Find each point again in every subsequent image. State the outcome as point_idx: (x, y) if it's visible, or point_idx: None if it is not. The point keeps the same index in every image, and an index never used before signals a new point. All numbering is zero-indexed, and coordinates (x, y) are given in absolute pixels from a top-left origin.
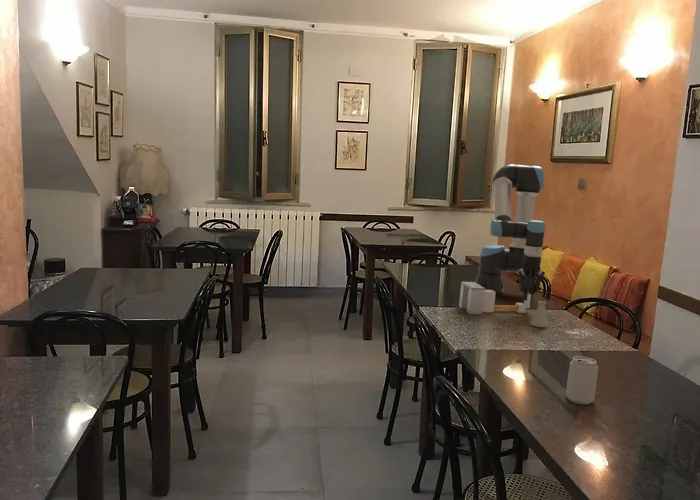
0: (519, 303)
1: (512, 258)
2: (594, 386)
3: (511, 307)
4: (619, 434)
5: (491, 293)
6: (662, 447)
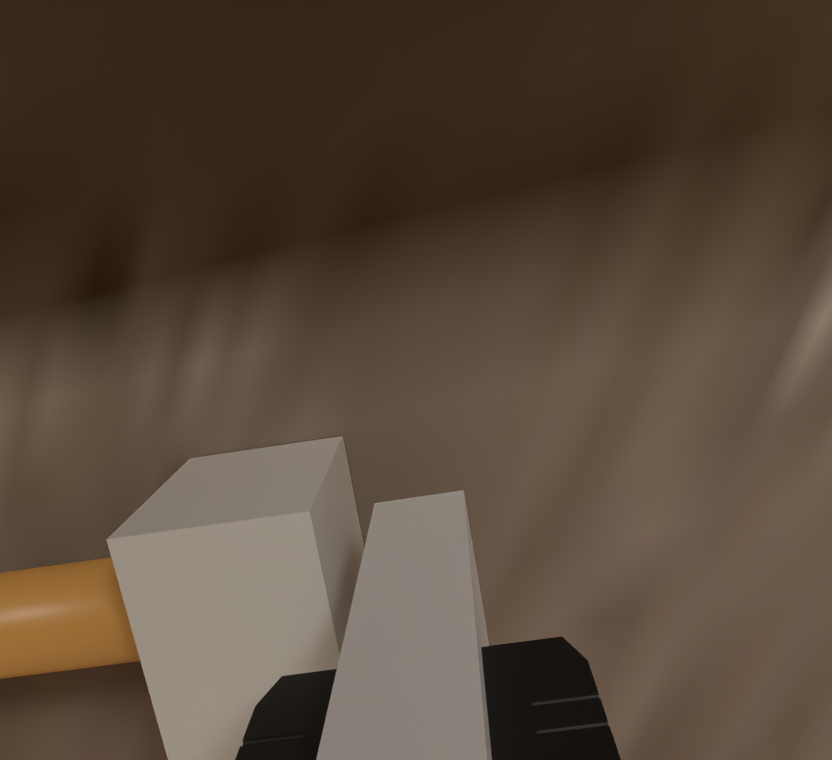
0: (207, 610)
1: None
2: None
3: (12, 676)
4: None
5: None
6: None
